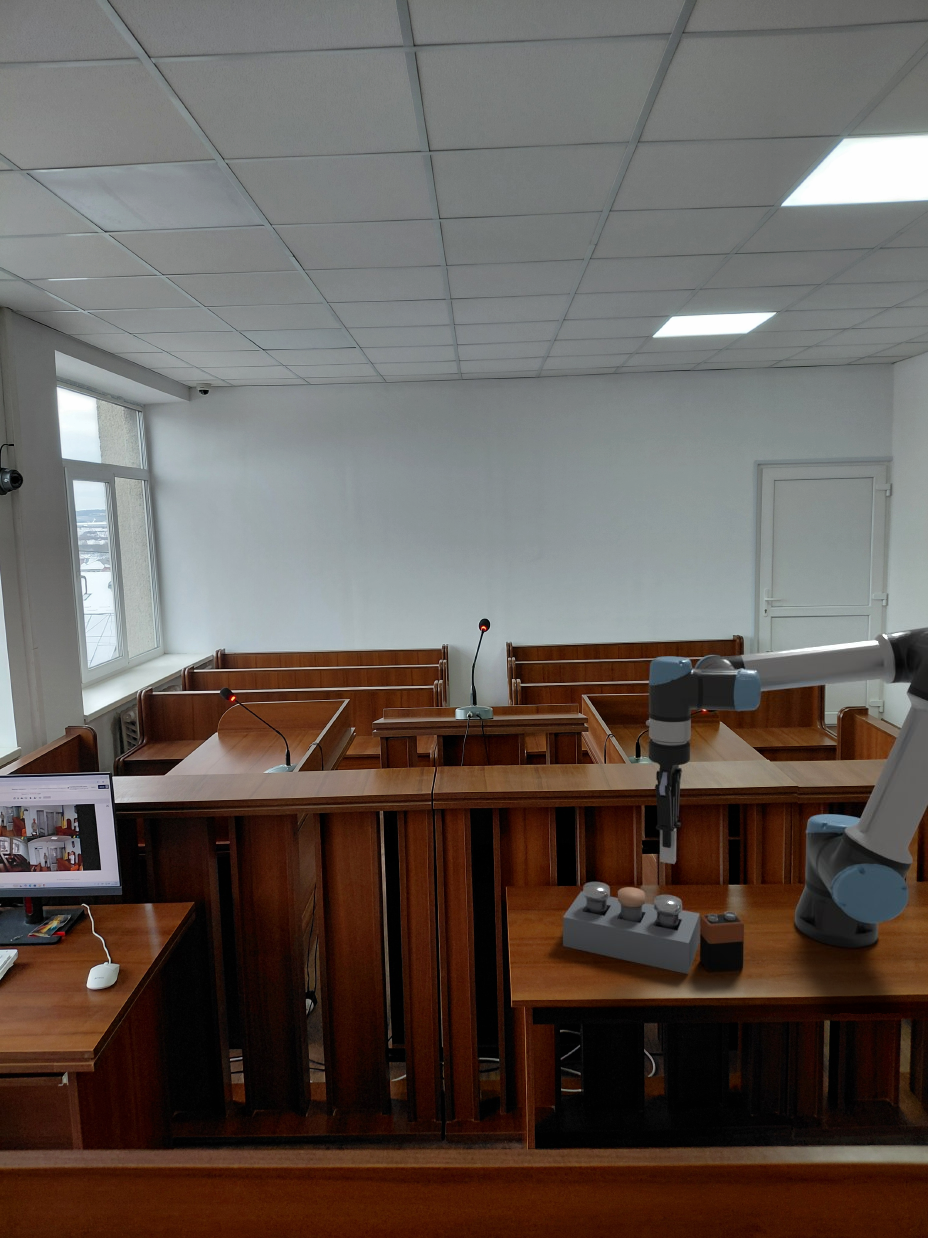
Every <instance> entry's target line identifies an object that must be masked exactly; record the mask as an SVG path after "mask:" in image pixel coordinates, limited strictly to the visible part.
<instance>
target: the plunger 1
mask: <svg viewBox="0 0 928 1238" xmlns="http://www.w3.org/2000/svg"><path fill="white" fill-rule="evenodd" d="M582 888H583V895H584V897H585V898H586V912H588V913H593V914H598V915H603V916H605V914H606V913H607V899H608V898H609V897H611V893H610V892H611V889H610V888H611V887H610V886H609V885H608V884H606V883H605V882H600V881H590V882H586V883H585V884H583V886H582Z"/></svg>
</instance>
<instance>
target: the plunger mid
mask: <svg viewBox="0 0 928 1238" xmlns="http://www.w3.org/2000/svg"><path fill="white" fill-rule="evenodd" d="M617 898H618V902H619V903H620V904H621V919H623V920H628V921H633V922H638V923H641V921H642V905H644V904H645V903H646V893H645V891H644V890H642V889H640V888H638V887H637V888H636V887H632V886H631V887H629V886H626V887H622V888H620V889H618V891H617Z"/></svg>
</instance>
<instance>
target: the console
mask: <svg viewBox="0 0 928 1238" xmlns="http://www.w3.org/2000/svg"><path fill="white" fill-rule="evenodd" d="M700 918H701V914H700V913H699V912H693V911H690V910H683V909H682V911H681V913H679V923H678V931H677V930H672V929H667V928H662V927H657V911H656V910H655V909H654V904H651V903H646V902H645V904H644V905H642V921H641V923H638V922H633V921H628V920H623V919H621V904H620V903H619V902H618V897H614V896H610V897H609V898H608V899H607V913H606V914H605V916H603V915H598V914H593V913H588V912H586V898H585V897H584V895H583V891H582V890H581V891H580V892H579V894H578V895H577V896H576V898H575V899H574V901H573V903H571V905H570V907H569V908H568V909H567V911H566V912H565V914H563V916H562V947H566V948H570V949H575V950H579V951H583V952H587V953H588V952H589V953H592V954H597V955H601V956H606V957H610V958H615V959H618V960H623V961H627V962H632V963H637V964H641V965H647V966H651V967H655V968H659V969H664V970H667V971H668V970H669V971H673V972H677V973H680V974H681V973H682V974H687V975H689V974H690V971H691V968H692V965H693V962H694V960H695V957H696V954H697V952H698V951H697V950H698V947H699V946H700Z"/></svg>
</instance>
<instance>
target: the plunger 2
mask: <svg viewBox="0 0 928 1238" xmlns="http://www.w3.org/2000/svg"><path fill="white" fill-rule="evenodd" d="M653 905H654V909H655V910H656V911H657V927H662V928H667V929H672V930H677V931H678V923H679V913H681V911H682V910H683V901H682V900H681V898H679V897H678V896H674V895H671V894H659V895H656V896H655V897H653Z"/></svg>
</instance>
